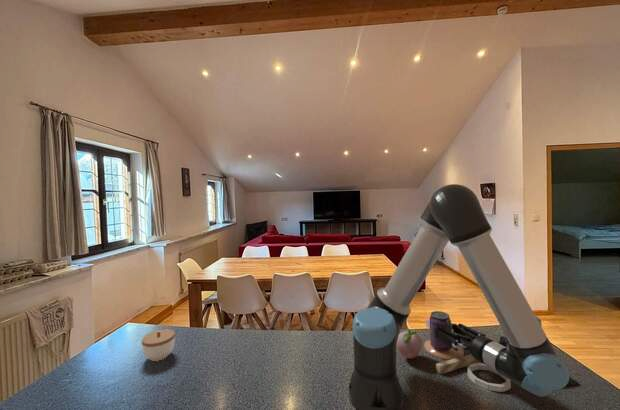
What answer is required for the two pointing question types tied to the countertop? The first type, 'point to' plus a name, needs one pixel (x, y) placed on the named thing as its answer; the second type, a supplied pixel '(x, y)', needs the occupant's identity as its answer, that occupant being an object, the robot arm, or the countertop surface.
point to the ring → (484, 384)
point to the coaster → (443, 352)
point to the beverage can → (443, 323)
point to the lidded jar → (158, 344)
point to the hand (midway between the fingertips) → (432, 321)
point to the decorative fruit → (409, 344)
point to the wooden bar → (455, 363)
